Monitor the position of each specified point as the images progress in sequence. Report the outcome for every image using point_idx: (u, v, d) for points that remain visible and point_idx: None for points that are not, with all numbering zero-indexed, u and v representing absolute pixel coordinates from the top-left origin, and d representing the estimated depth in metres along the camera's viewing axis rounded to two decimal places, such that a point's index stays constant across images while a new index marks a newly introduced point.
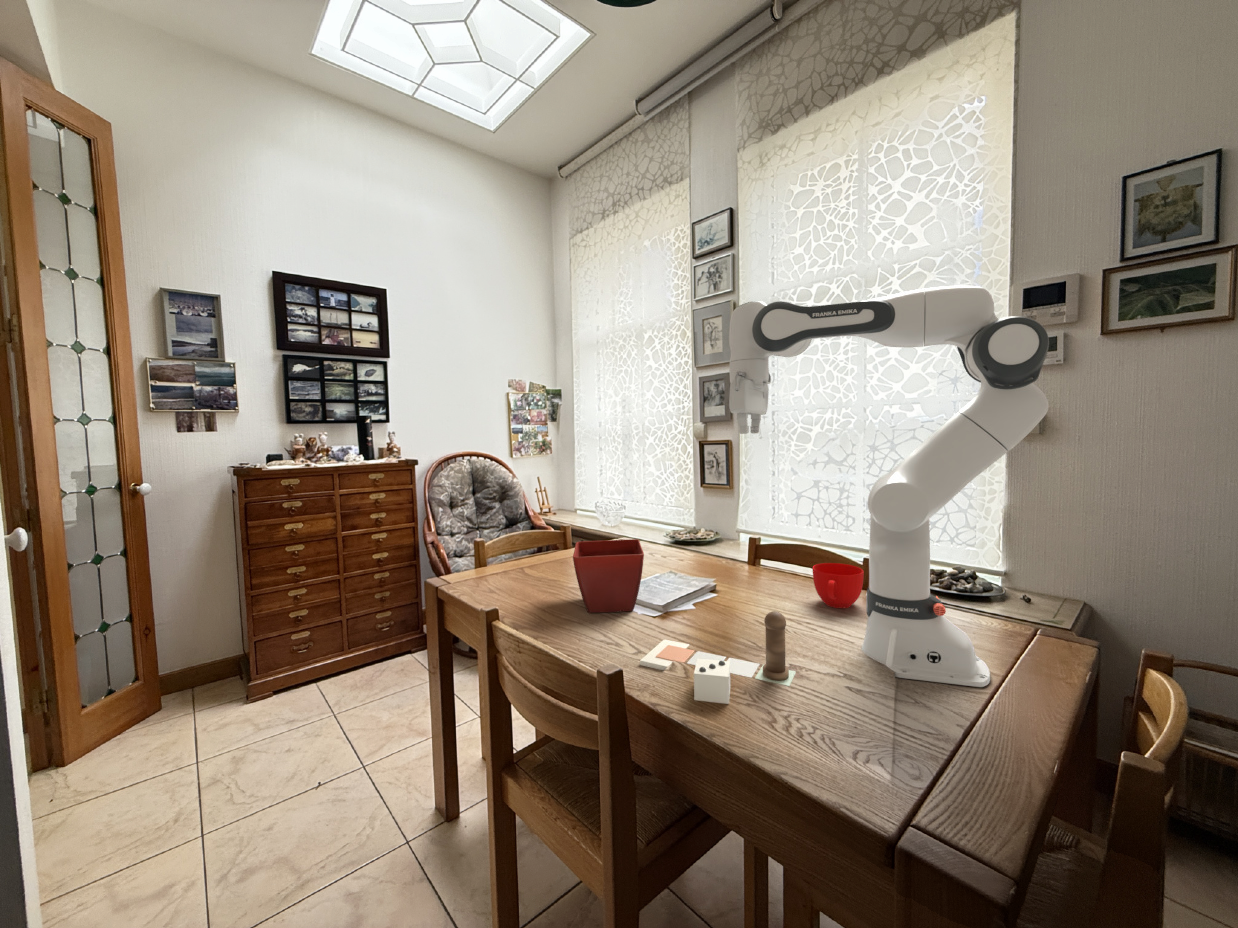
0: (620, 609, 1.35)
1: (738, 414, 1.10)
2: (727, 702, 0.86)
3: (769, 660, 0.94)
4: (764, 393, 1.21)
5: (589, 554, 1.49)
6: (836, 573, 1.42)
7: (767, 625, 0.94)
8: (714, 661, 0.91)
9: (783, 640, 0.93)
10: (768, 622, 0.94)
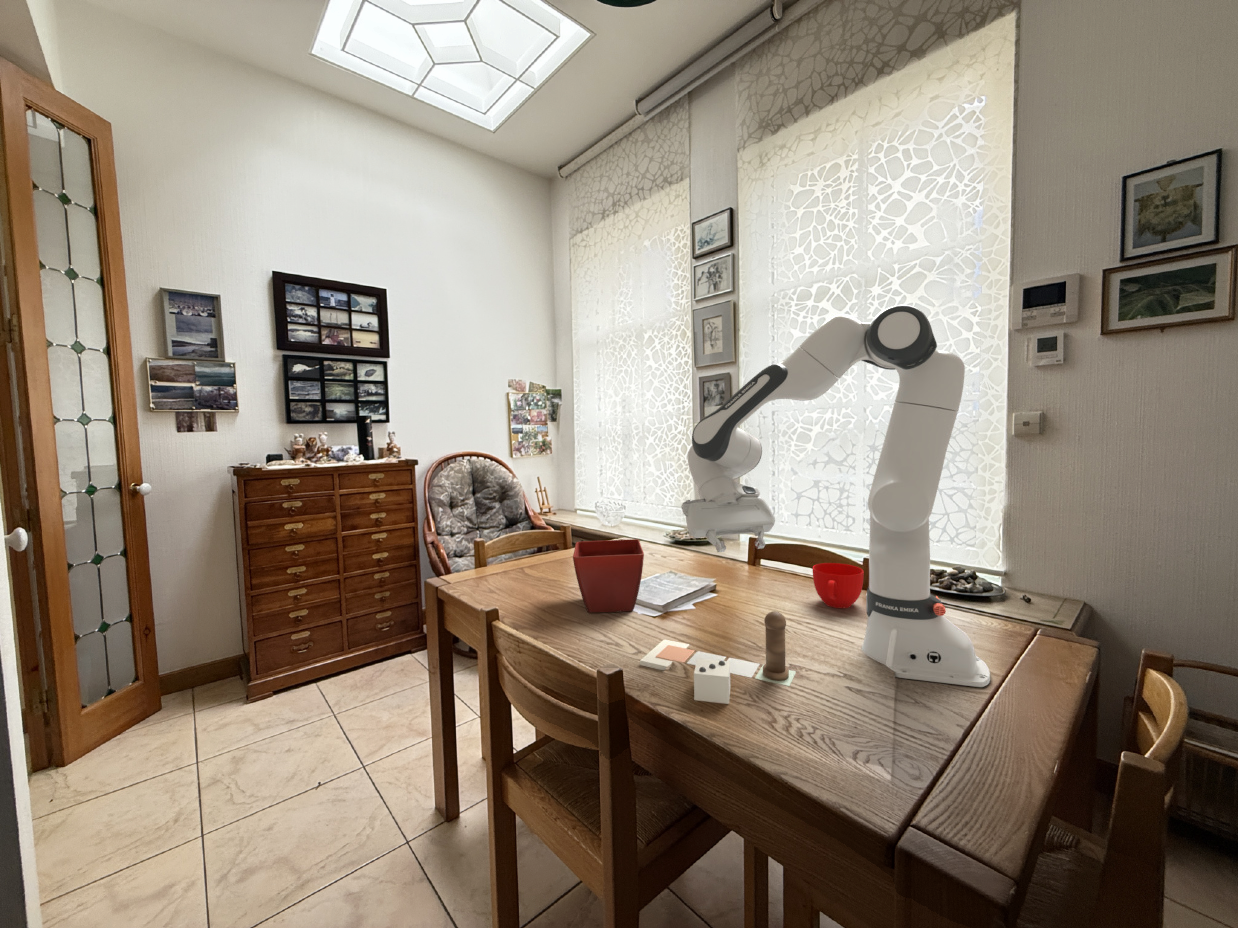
0: (620, 609, 1.35)
1: (706, 535, 1.08)
2: (727, 702, 0.86)
3: (769, 660, 0.94)
4: (758, 505, 1.13)
5: (589, 554, 1.49)
6: (836, 573, 1.42)
7: (767, 625, 0.94)
8: (714, 661, 0.91)
9: (783, 640, 0.93)
10: (768, 622, 0.94)
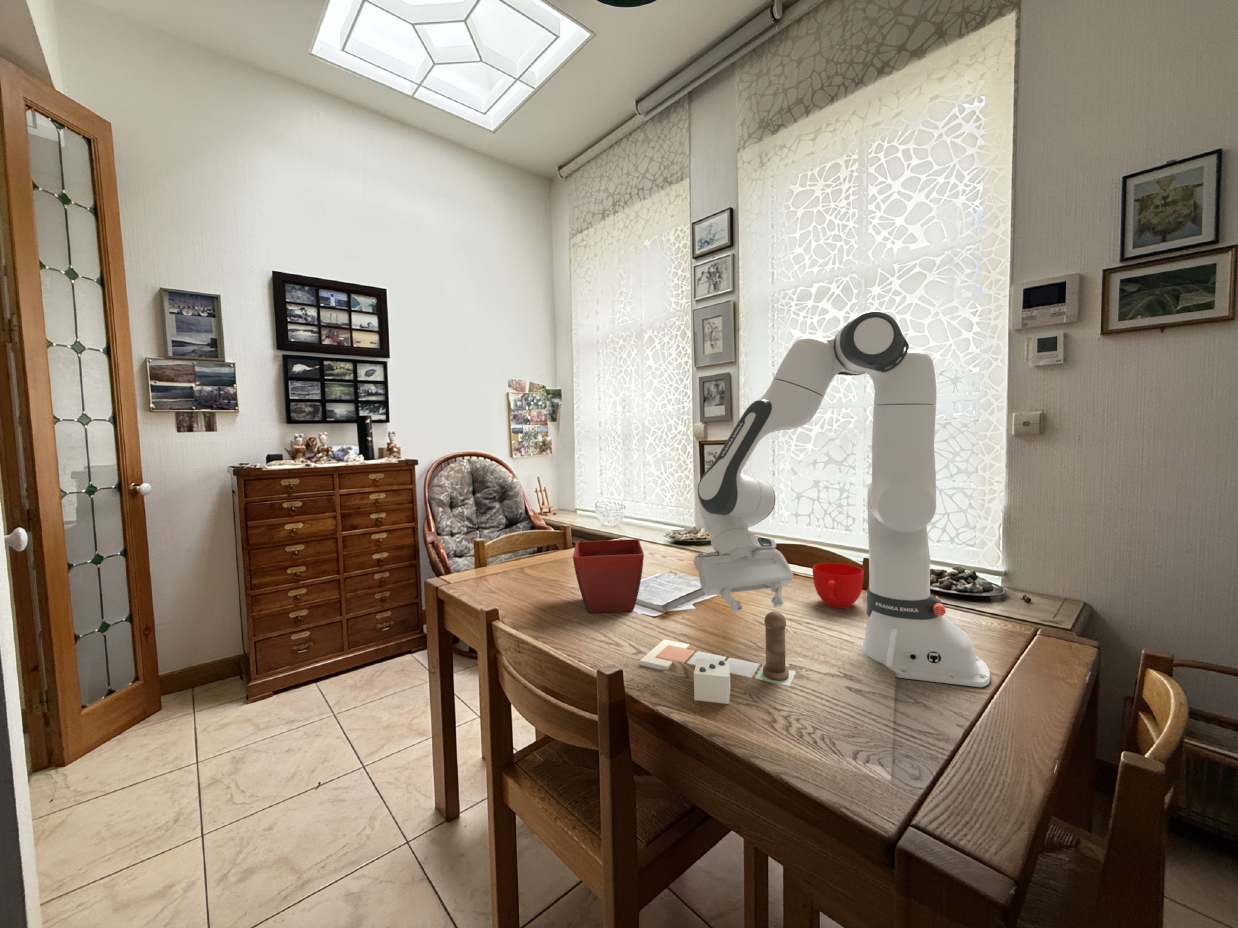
0: (620, 609, 1.35)
1: (721, 593, 1.02)
2: (727, 702, 0.86)
3: (769, 660, 0.94)
4: (774, 559, 1.07)
5: (589, 554, 1.49)
6: (836, 573, 1.42)
7: (767, 625, 0.94)
8: (714, 661, 0.91)
9: (783, 640, 0.93)
10: (768, 622, 0.94)
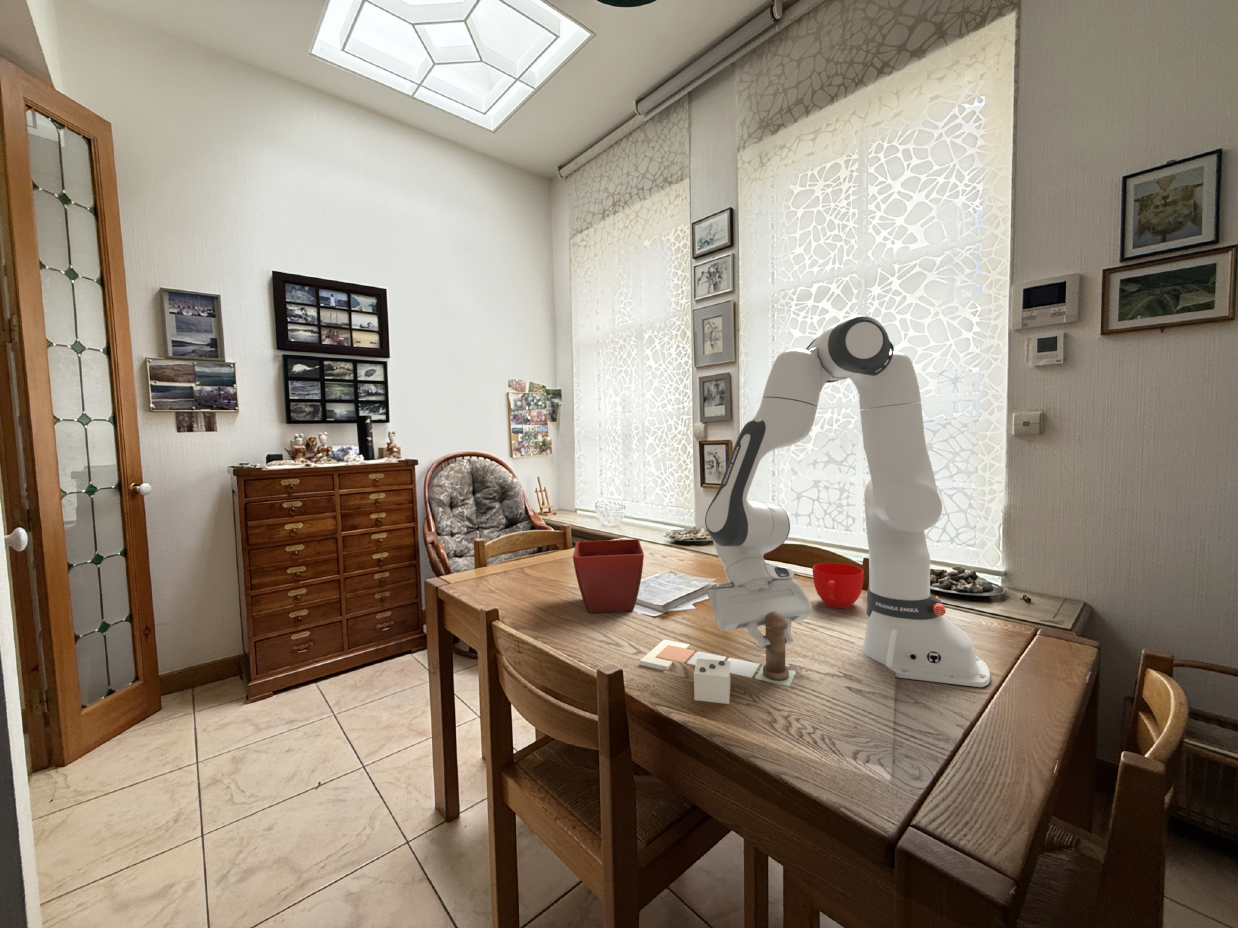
0: (620, 609, 1.35)
1: (747, 627, 0.97)
2: (727, 702, 0.86)
3: (769, 660, 0.94)
4: (792, 590, 1.01)
5: (589, 554, 1.49)
6: (836, 573, 1.42)
7: (767, 625, 0.94)
8: (714, 661, 0.91)
9: (783, 640, 0.93)
10: (768, 622, 0.94)
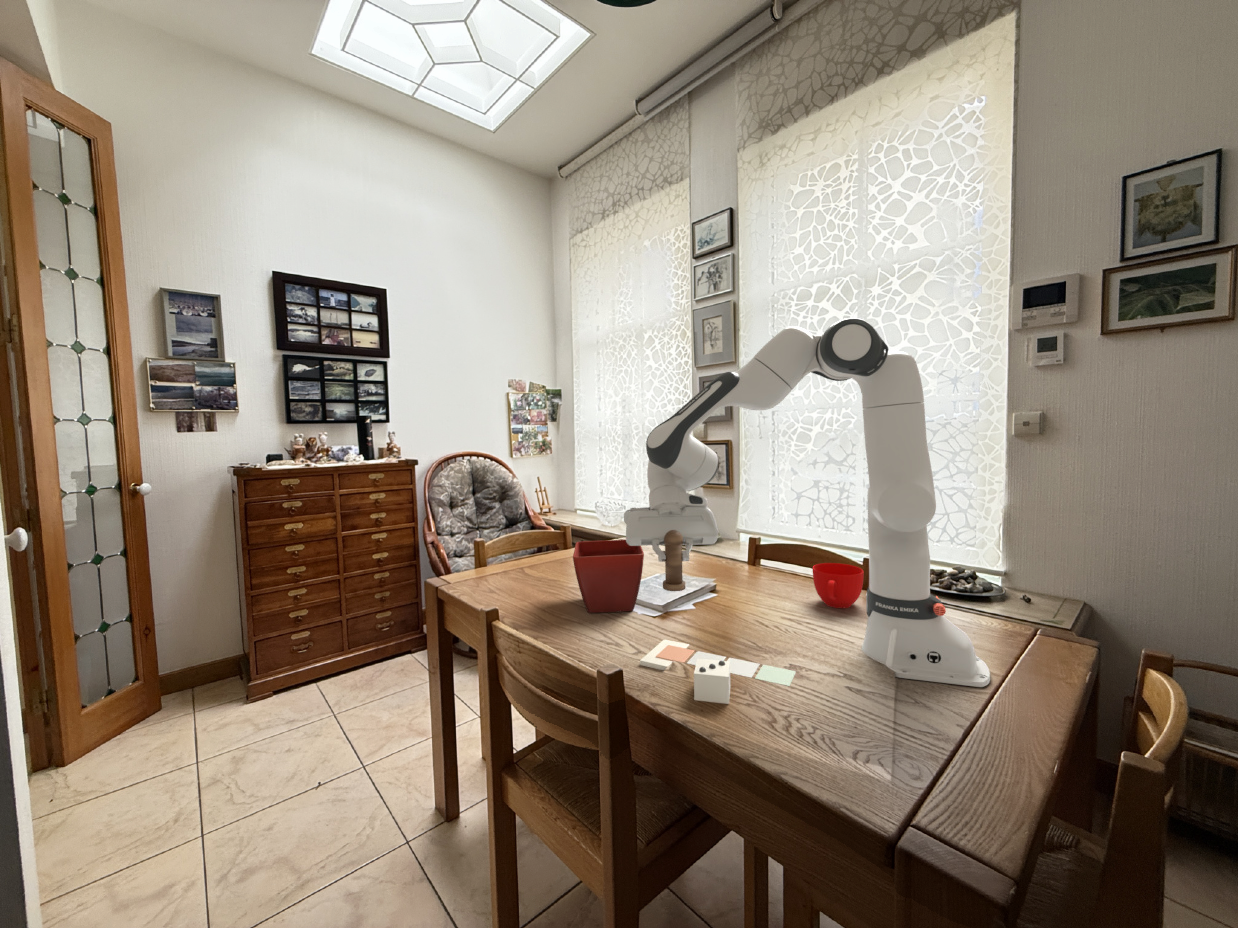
0: (620, 609, 1.35)
1: (652, 544, 1.07)
2: (727, 702, 0.86)
3: (666, 573, 1.04)
4: (703, 516, 1.09)
5: (589, 554, 1.49)
6: (836, 573, 1.42)
7: (664, 541, 1.04)
8: (714, 661, 0.91)
9: (677, 555, 1.03)
10: (664, 538, 1.04)
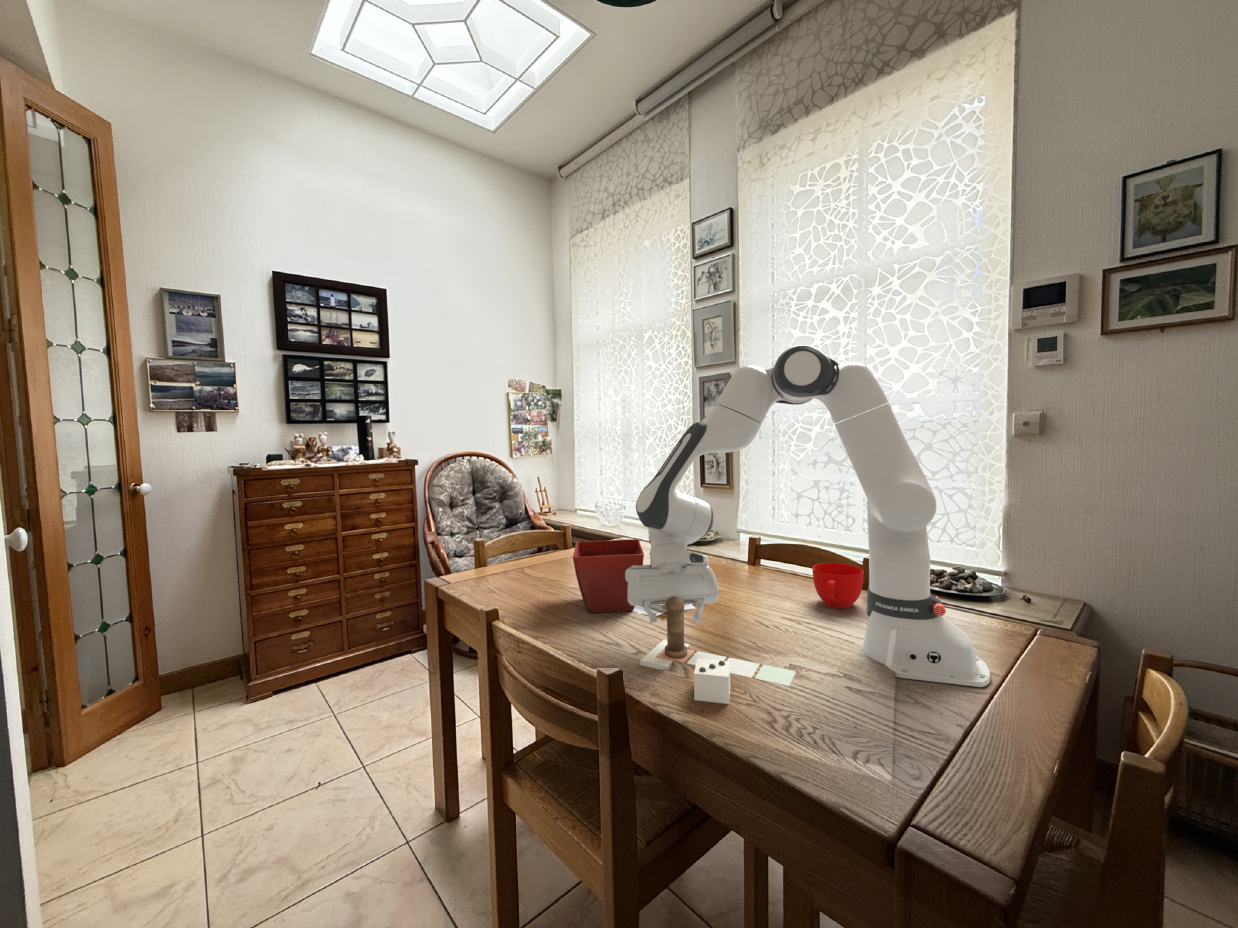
0: (620, 609, 1.35)
1: (643, 604, 1.08)
2: (727, 702, 0.86)
3: (668, 639, 1.05)
4: (704, 575, 1.10)
5: (589, 554, 1.49)
6: (836, 573, 1.42)
7: (666, 608, 1.05)
8: (714, 661, 0.91)
9: (679, 623, 1.04)
10: (666, 605, 1.05)
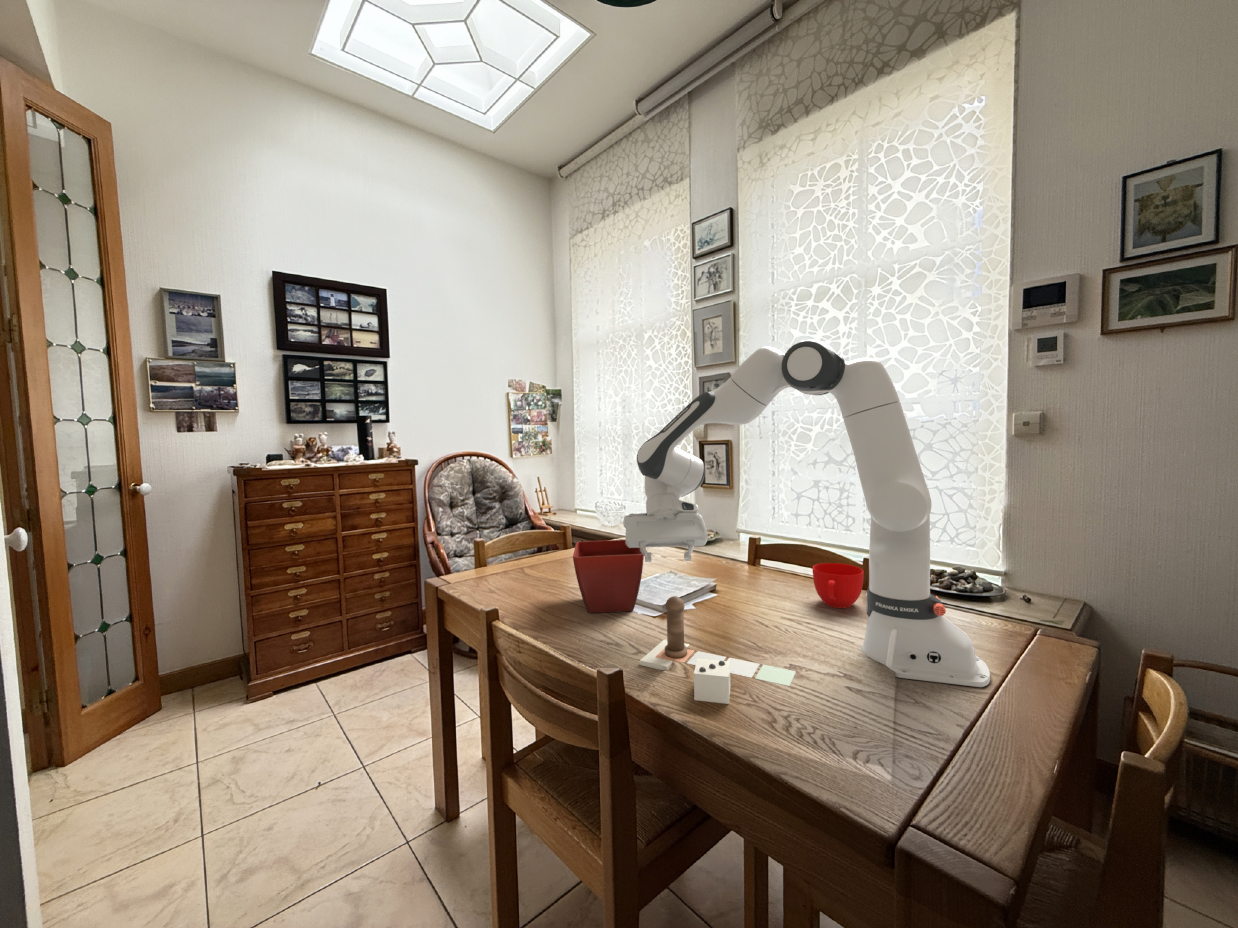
0: (620, 609, 1.35)
1: (639, 546, 1.21)
2: (727, 702, 0.86)
3: (668, 639, 1.05)
4: (694, 521, 1.22)
5: (589, 554, 1.49)
6: (836, 573, 1.42)
7: (666, 608, 1.05)
8: (714, 661, 0.91)
9: (679, 623, 1.04)
10: (666, 605, 1.05)
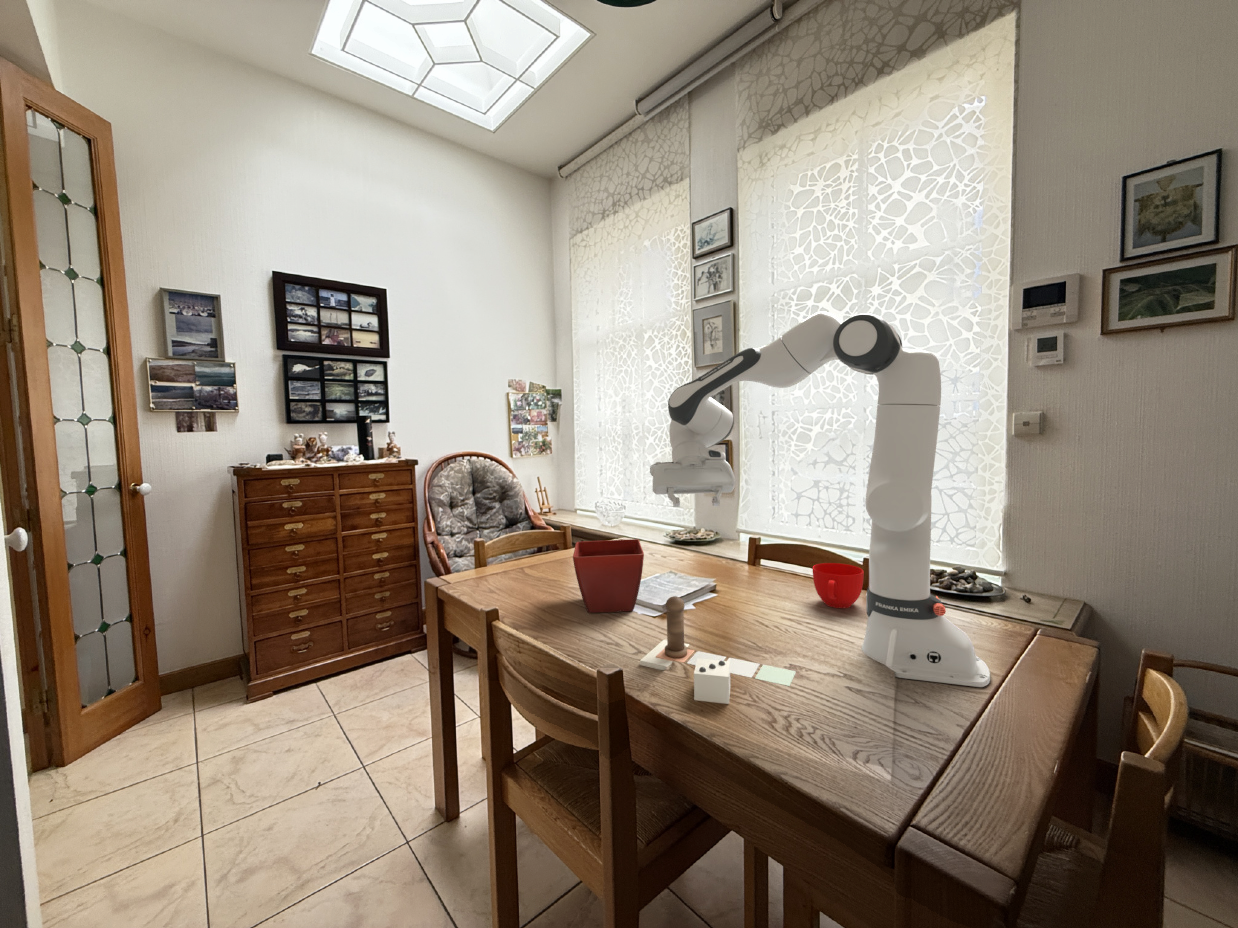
0: (620, 609, 1.35)
1: (667, 493, 1.20)
2: (727, 702, 0.86)
3: (668, 639, 1.05)
4: (722, 468, 1.22)
5: (589, 554, 1.49)
6: (836, 573, 1.42)
7: (666, 608, 1.05)
8: (714, 661, 0.91)
9: (679, 623, 1.04)
10: (666, 605, 1.05)
